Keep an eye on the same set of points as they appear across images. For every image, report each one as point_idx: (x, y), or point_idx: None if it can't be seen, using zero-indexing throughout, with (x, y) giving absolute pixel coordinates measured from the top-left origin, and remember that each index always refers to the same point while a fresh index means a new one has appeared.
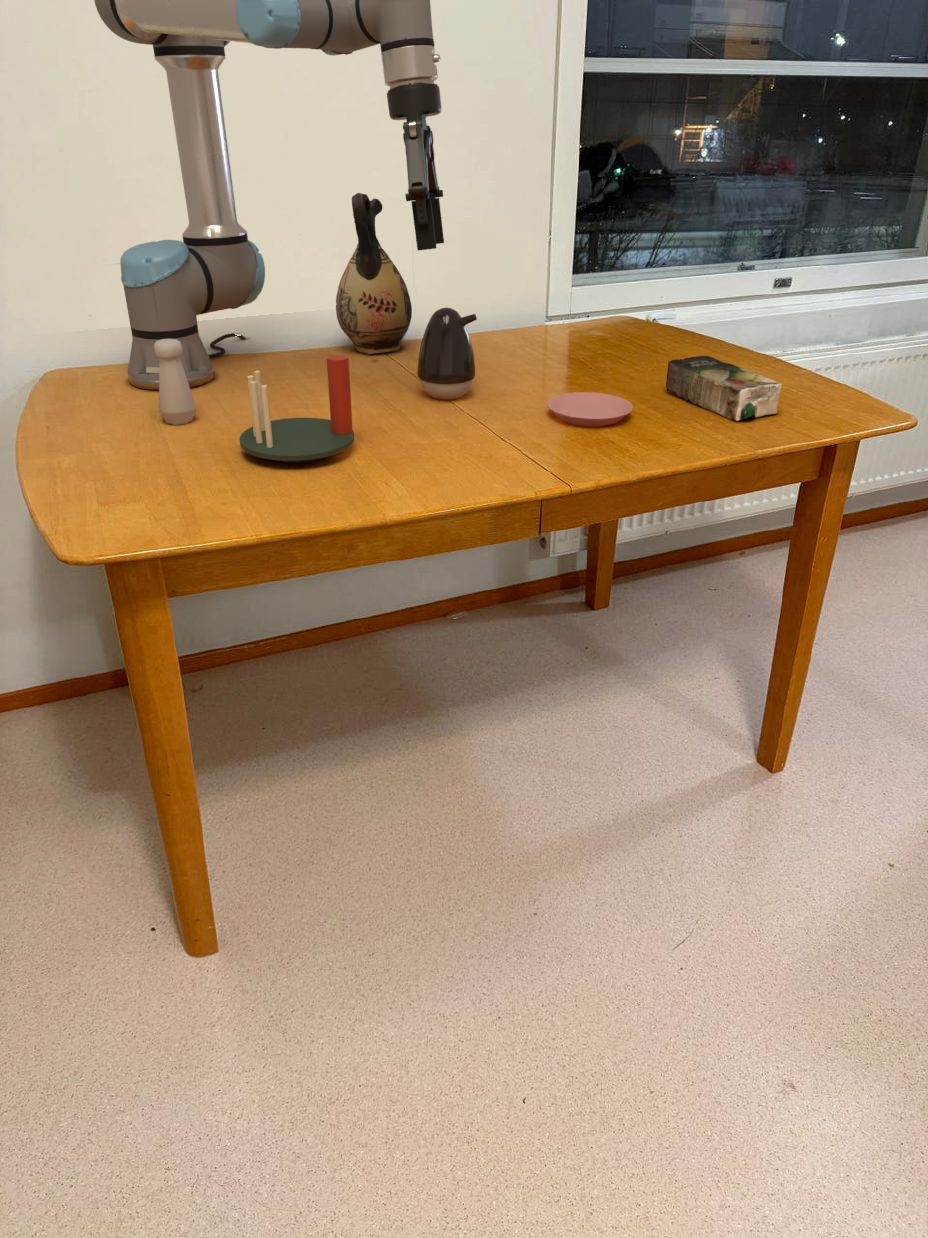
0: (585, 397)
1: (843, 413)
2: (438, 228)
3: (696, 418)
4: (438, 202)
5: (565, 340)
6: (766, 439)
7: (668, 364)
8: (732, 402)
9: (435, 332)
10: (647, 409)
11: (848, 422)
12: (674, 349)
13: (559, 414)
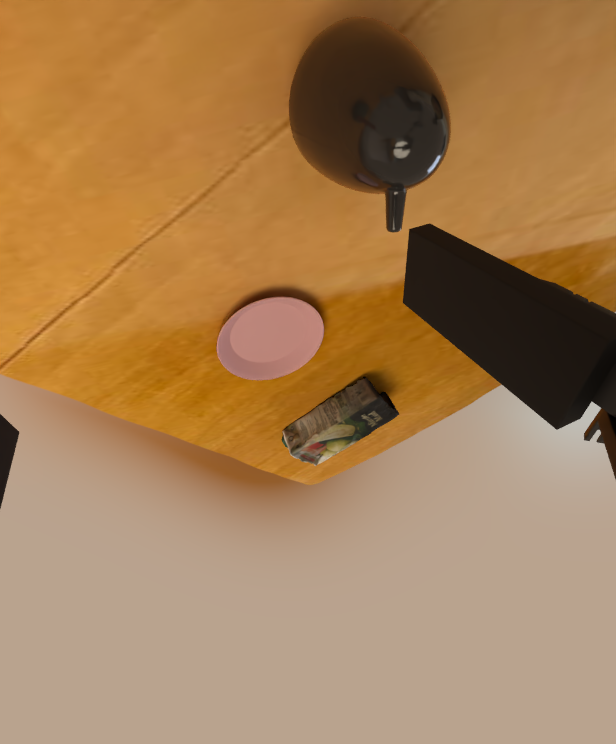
0: (316, 325)
1: (318, 465)
2: (441, 320)
3: (286, 408)
4: (535, 407)
5: (596, 237)
6: (242, 451)
7: (377, 395)
8: (292, 438)
9: (354, 116)
10: (306, 372)
11: (298, 470)
12: None
13: (227, 320)
